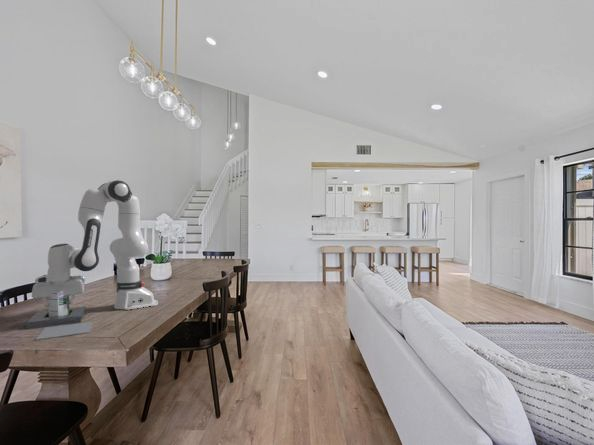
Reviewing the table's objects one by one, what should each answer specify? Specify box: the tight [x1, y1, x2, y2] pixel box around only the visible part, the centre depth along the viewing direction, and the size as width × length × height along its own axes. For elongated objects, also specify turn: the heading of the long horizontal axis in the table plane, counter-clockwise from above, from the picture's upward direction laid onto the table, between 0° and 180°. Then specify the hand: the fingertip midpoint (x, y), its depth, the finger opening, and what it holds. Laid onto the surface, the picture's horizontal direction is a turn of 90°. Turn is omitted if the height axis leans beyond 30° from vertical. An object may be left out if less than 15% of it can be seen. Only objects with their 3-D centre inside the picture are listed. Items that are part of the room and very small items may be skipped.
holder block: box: [25, 305, 87, 330], centre depth 150 cm, size 20×20×3 cm
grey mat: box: [35, 321, 94, 341], centre depth 135 cm, size 18×16×1 cm
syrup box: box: [48, 291, 70, 317], centre depth 150 cm, size 6×6×14 cm
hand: (58, 305), depth 150 cm, fingers closed on syrup box, 8 cm apart
